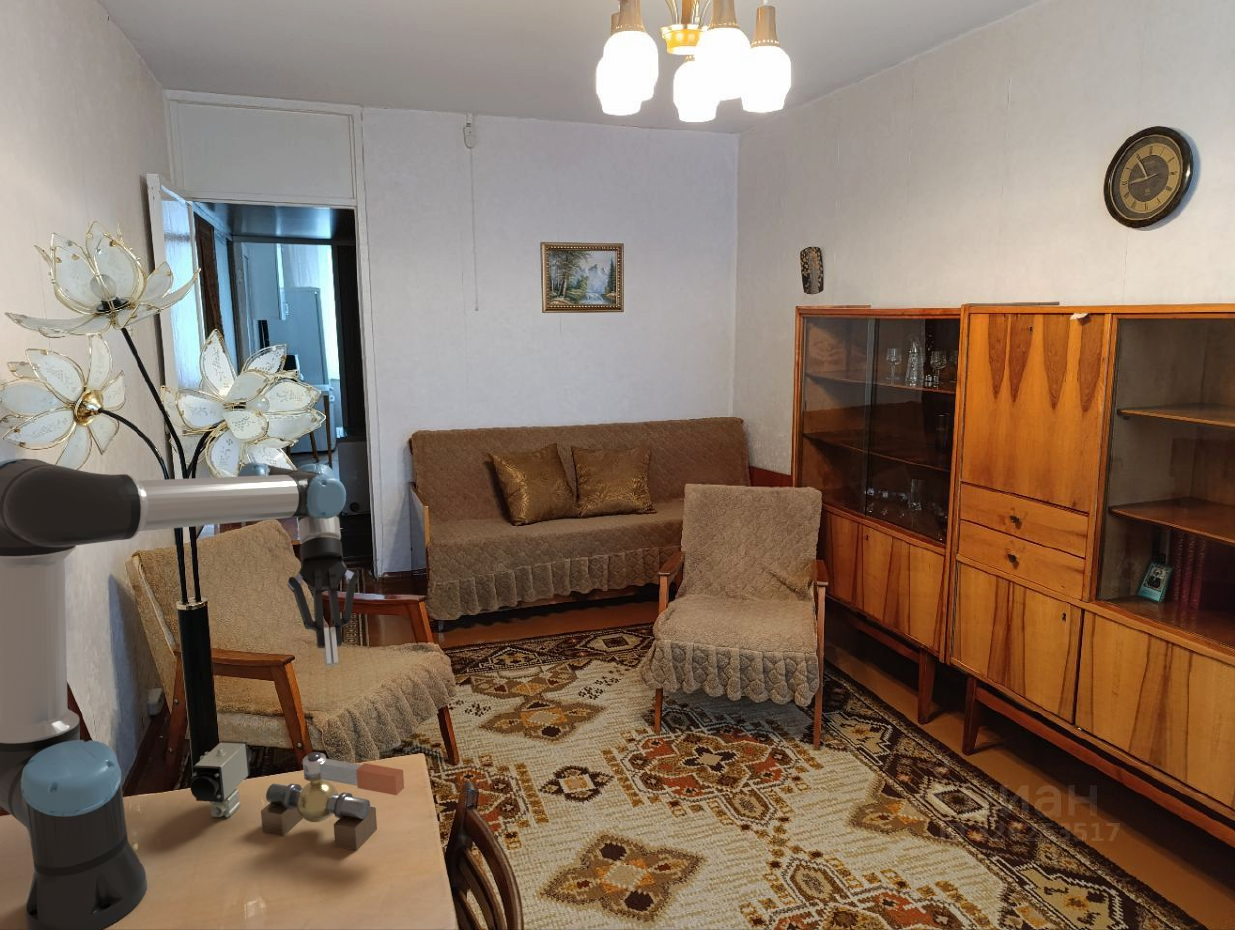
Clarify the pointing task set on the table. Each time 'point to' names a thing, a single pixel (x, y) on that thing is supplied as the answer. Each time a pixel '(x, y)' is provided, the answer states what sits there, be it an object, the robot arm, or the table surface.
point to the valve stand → (319, 811)
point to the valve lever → (353, 774)
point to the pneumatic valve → (221, 776)
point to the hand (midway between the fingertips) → (331, 664)
